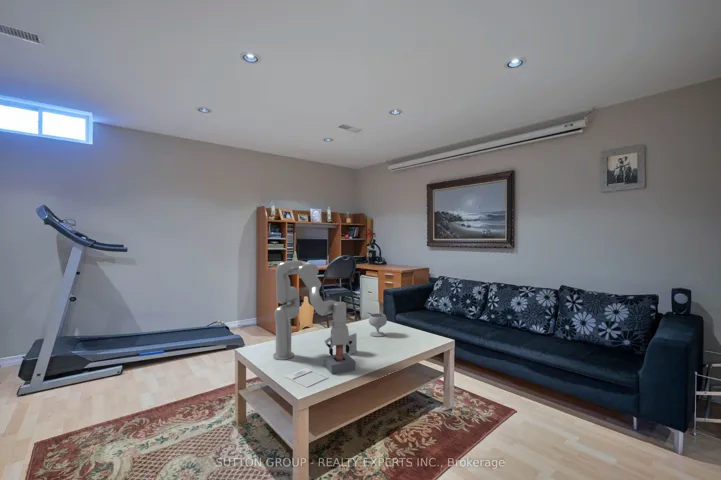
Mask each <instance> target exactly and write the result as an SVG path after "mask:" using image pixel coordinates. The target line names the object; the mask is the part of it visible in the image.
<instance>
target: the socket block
mask: <svg viewBox="0 0 721 480" xmlns="http://www.w3.org/2000/svg"><path fill="white" fill-rule="evenodd" d="M323 365H324V367H325V368H326V369H327V370H328V372H329V373H330V374H331V375H335V374H341V373H347V372H353V371H356V360H355V359H354V358H353V357H352V356H351V355H348V354H347V353H343V360H341V361H336V354H333V356H331V355H330V354H329V355H324V356H323Z"/></svg>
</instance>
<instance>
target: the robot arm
mask: <svg viewBox="0 0 721 480" xmlns="http://www.w3.org/2000/svg"><path fill="white" fill-rule="evenodd" d="M274 273H275V283H276V284H275V285H276V286H275V287H276V288H275V289H276V292H275V293H276V294H275V295H276V297H275V298H276V301H277V302H278V304H284V305H279V306H277V307H276V309H275V310H274V313H273V316H274V321H275V322H274V323H275V353H273V355H272V358H273V359H274V360H280V361H282V360H283V361H285V360H288V359H292V358H293V357H294V356H295V353H294V352H293V351H292V324H291V322H290V320H291V319H294V318H296V317H298V316H299V314H300V292H299V290H298V289H297V287H295V286H293V285H292V286H291V280H290V277H289V276H290V275H299V277H300V279H301V281H303V282H302V283H304V285H305V287H306V289H307V290H308V292H309V294H308V295H309V301H310V304H311V306H312V308H313V309H314V311H315V312H316V313H317V314H318V315H319V316H321V317H324V316H327V315H329V314H332V321H331V322H330V326H331V329H330V336H329V337H328V338H327V339H325V340H324V343H325V345H326V346H327V347H328V353H329V355H331V356H333V355H334V349H333V347H334V346H336V345H343V344H346V352H347V353H349V346H350V344H351V343H352V341H353V339H354V338H353V337H352V336H349V332H348V331H349V327H348V325H347V303H346V302H344V301H338V300H337V301H336V300H333V299H328V300H325V301H324V300H323V299H322V297H321V295H320V288H321V286H322V282H321V280H320V279H319V277H318V276H317V275H318V274H319V267H318V266H317V265H316V264H315V263H312V262H308V261H303V260H300V259H299V260H298V259H295V260H288V261H287V260H285V261H282V262H280V263H279V264H278V265H277V266H276V268H275V272H274ZM349 338H350V341H349ZM329 342H330V343H329Z"/></svg>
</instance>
